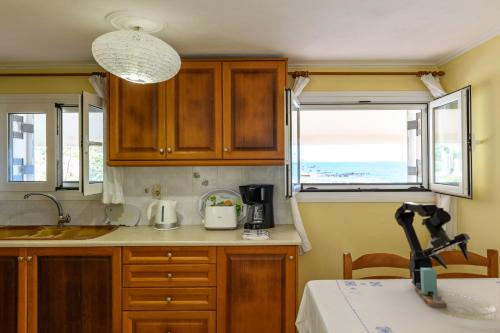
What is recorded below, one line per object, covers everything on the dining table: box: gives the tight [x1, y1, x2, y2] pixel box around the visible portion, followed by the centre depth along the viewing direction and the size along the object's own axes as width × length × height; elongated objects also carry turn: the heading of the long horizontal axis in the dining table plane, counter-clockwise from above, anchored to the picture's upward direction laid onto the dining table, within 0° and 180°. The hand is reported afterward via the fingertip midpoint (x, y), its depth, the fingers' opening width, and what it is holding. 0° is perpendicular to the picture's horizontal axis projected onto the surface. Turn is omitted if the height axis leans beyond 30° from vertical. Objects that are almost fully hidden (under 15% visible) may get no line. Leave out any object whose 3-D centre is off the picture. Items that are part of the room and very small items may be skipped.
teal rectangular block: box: [420, 267, 438, 295], centre depth 139 cm, size 4×5×10 cm
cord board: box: [414, 283, 448, 309], centre depth 138 cm, size 20×6×4 cm, turn 168°
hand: (457, 264), depth 138 cm, fingers open, 9 cm apart
